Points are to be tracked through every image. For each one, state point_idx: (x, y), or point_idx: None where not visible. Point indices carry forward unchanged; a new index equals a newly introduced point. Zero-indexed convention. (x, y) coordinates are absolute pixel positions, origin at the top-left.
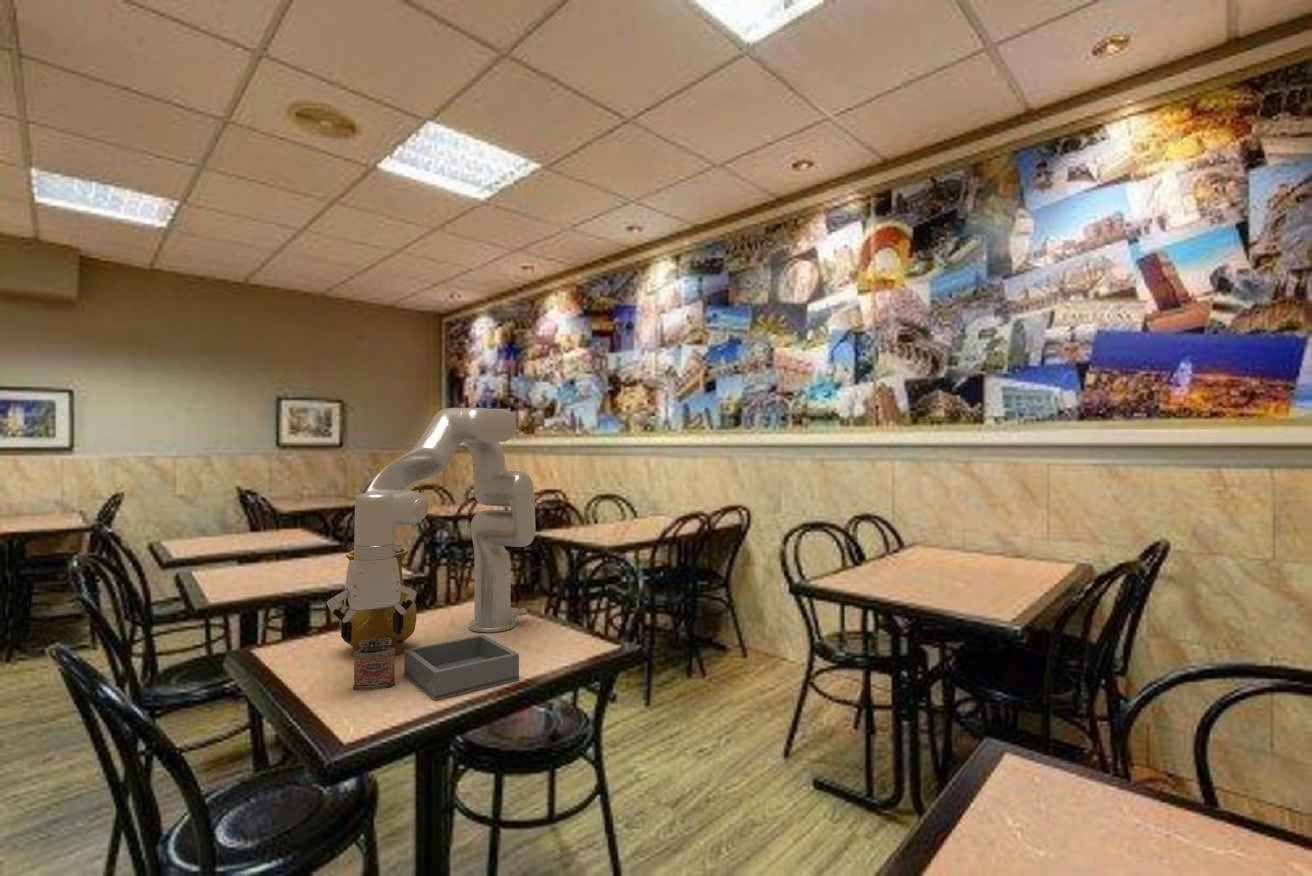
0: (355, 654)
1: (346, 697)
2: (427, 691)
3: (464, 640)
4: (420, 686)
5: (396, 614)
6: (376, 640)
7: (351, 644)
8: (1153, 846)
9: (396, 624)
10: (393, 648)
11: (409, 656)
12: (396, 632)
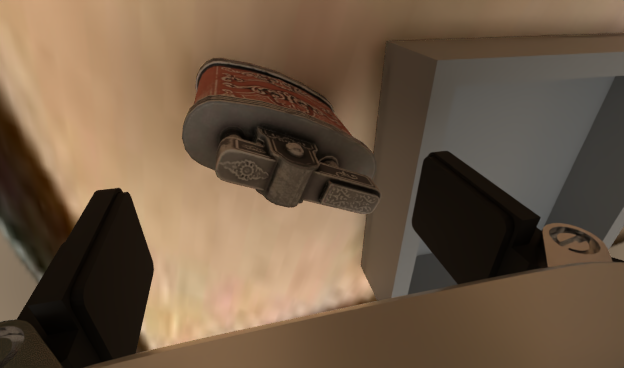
0: (193, 158)
1: (170, 142)
2: (368, 235)
3: None
4: None
5: (497, 273)
6: (307, 190)
7: None
8: None
9: (443, 246)
10: (370, 168)
11: (417, 127)
12: (416, 217)
